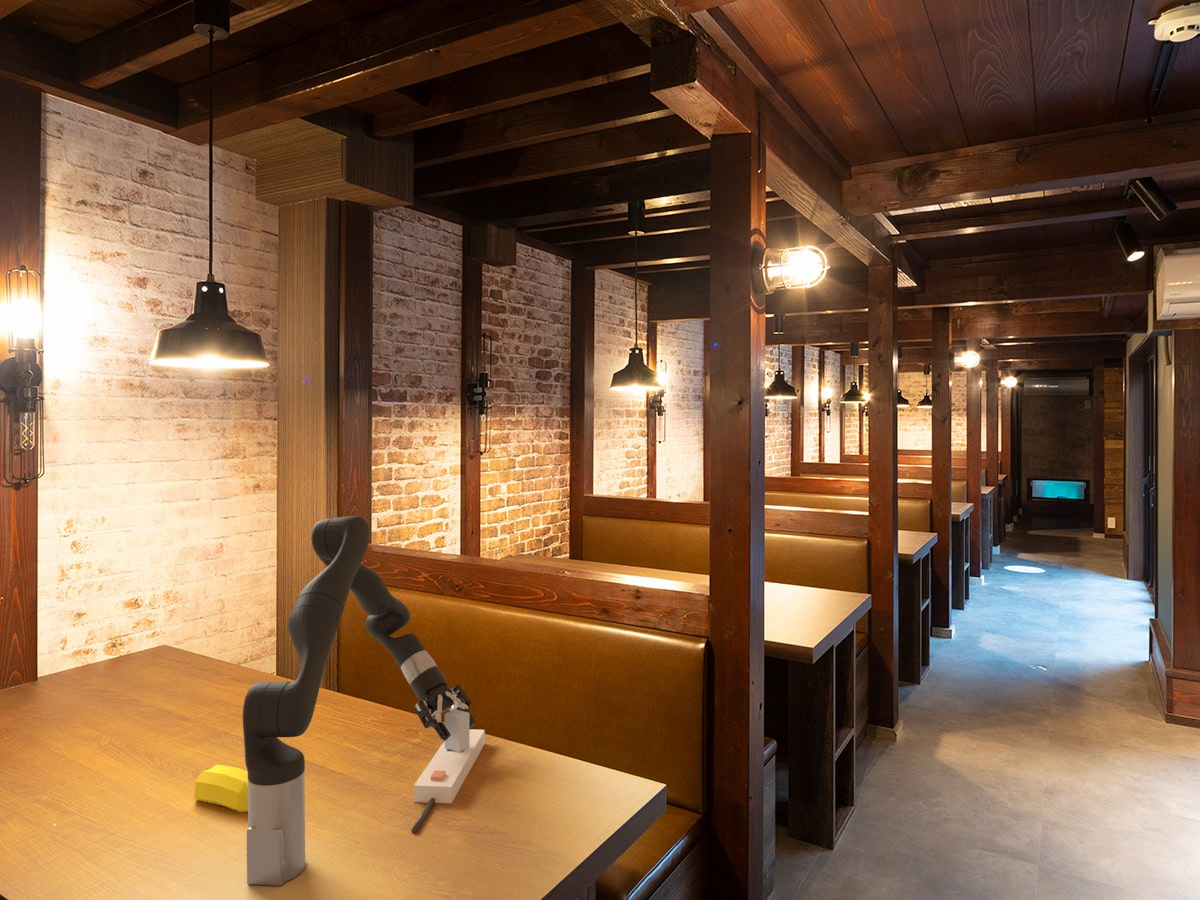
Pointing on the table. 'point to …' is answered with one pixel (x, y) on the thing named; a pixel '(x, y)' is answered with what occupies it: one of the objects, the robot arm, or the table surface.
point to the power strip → (446, 774)
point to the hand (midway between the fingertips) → (460, 732)
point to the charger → (457, 730)
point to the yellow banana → (224, 787)
